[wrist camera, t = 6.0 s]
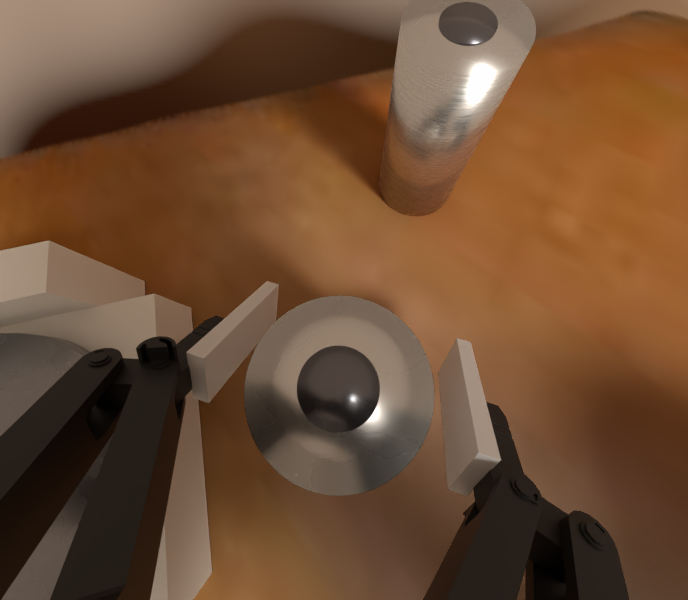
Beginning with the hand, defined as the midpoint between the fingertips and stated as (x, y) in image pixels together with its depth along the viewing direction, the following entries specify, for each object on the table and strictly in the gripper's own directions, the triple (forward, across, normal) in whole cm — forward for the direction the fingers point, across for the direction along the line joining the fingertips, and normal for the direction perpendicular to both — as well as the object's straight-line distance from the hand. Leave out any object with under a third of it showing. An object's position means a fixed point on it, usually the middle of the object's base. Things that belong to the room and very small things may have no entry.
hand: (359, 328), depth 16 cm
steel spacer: (+13, +1, +7) cm, 14 cm away
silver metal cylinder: (+1, 0, -5) cm, 5 cm away
